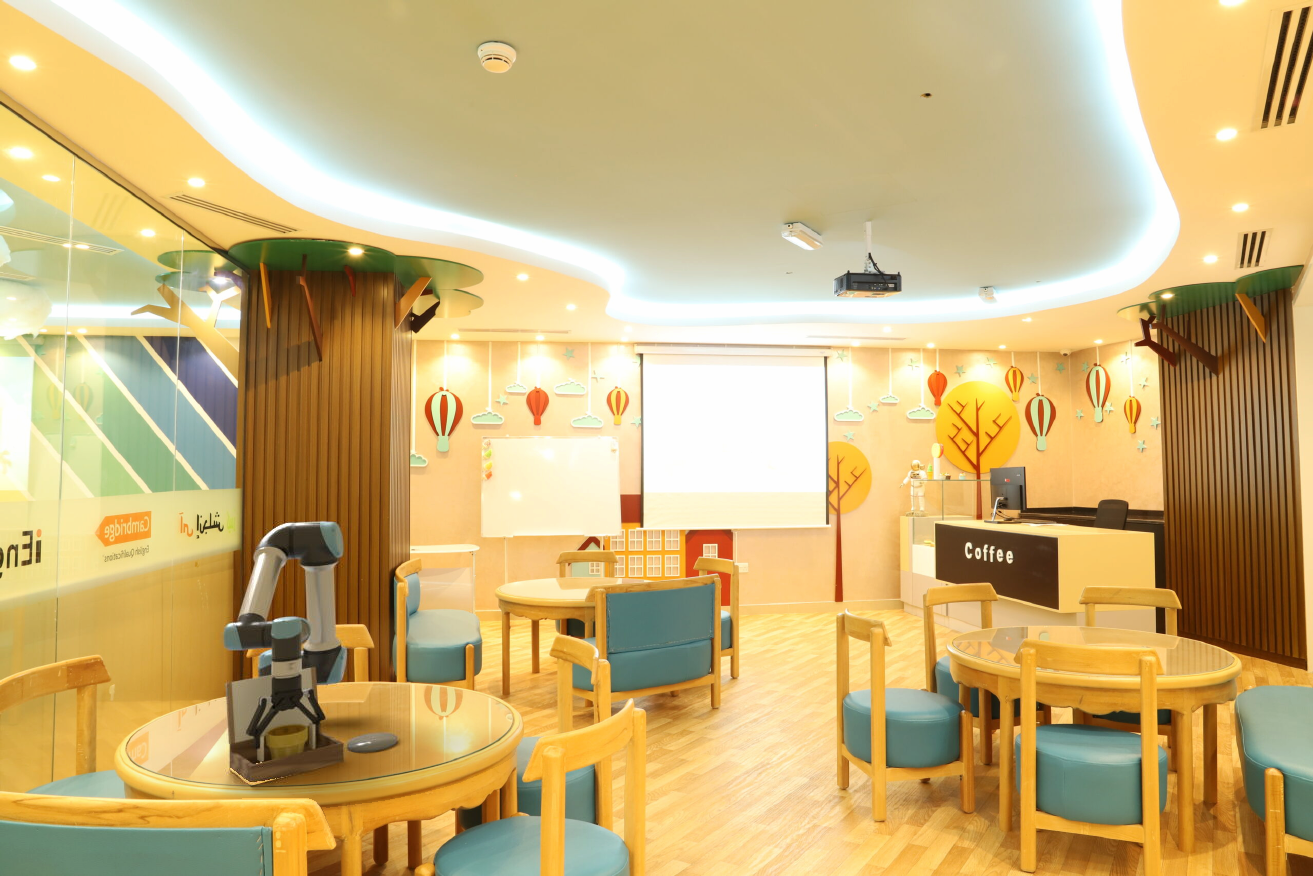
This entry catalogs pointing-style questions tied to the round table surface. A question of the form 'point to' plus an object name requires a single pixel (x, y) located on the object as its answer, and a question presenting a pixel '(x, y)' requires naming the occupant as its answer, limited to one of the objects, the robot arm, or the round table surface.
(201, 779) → the round table surface
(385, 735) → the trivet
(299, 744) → the plant pot
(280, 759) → the cold frame
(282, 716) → the lid
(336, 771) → the round table surface
